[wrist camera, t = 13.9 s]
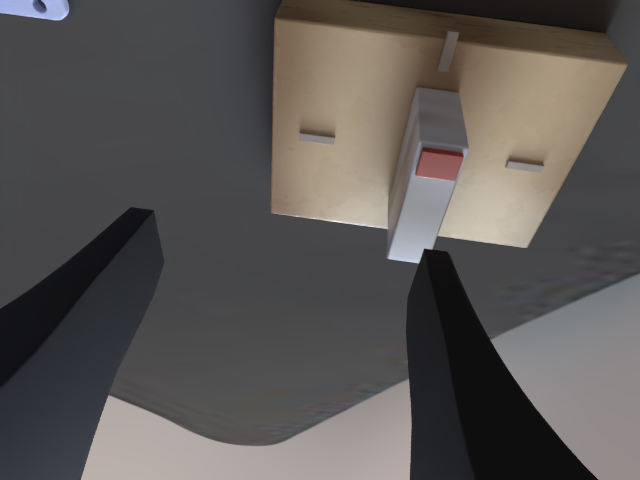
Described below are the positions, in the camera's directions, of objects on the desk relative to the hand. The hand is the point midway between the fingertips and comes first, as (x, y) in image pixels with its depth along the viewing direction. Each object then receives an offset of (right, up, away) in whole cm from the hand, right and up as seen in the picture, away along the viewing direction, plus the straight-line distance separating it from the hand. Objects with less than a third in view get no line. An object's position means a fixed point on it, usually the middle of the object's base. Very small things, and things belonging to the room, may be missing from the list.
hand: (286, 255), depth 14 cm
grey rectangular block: (+5, +4, +6) cm, 9 cm away
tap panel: (+5, +6, +8) cm, 11 cm away
